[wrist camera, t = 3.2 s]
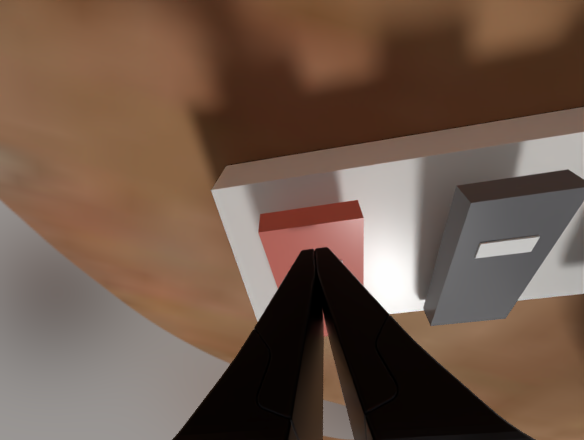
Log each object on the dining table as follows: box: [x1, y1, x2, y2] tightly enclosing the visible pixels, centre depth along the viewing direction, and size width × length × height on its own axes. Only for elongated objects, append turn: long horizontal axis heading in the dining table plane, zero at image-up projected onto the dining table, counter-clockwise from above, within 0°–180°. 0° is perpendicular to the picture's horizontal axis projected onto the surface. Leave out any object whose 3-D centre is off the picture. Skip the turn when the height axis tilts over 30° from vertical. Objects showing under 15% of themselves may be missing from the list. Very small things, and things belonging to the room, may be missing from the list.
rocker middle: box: [423, 169, 584, 326], centre depth 11 cm, size 8×4×1 cm, turn 9°
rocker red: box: [258, 200, 364, 336], centre depth 12 cm, size 8×4×1 cm, turn 10°
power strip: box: [211, 107, 584, 321], centre depth 14 cm, size 9×28×3 cm, turn 100°
